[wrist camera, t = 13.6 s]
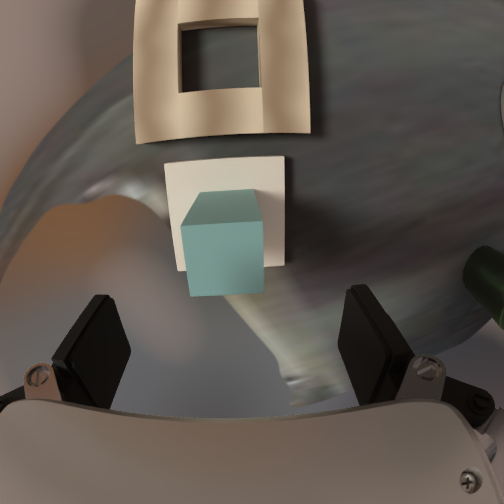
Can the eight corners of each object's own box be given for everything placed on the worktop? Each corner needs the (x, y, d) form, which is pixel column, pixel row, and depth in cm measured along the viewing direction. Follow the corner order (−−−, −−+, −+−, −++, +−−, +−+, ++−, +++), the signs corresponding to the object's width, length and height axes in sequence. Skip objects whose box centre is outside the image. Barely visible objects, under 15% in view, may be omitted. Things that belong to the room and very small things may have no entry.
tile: (282, 155, 24) (284, 156, 23) (282, 260, 28) (284, 265, 27) (166, 162, 23) (164, 163, 22) (179, 266, 27) (177, 271, 26)
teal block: (253, 189, 24) (262, 220, 15) (254, 239, 25) (264, 292, 17) (199, 192, 24) (180, 226, 15) (204, 241, 25) (190, 296, 17)
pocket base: (296, -5, 17) (301, -14, 15) (304, 133, 23) (310, 133, 21) (142, 6, 17) (136, -2, 15) (143, 143, 22) (136, 144, 21)
